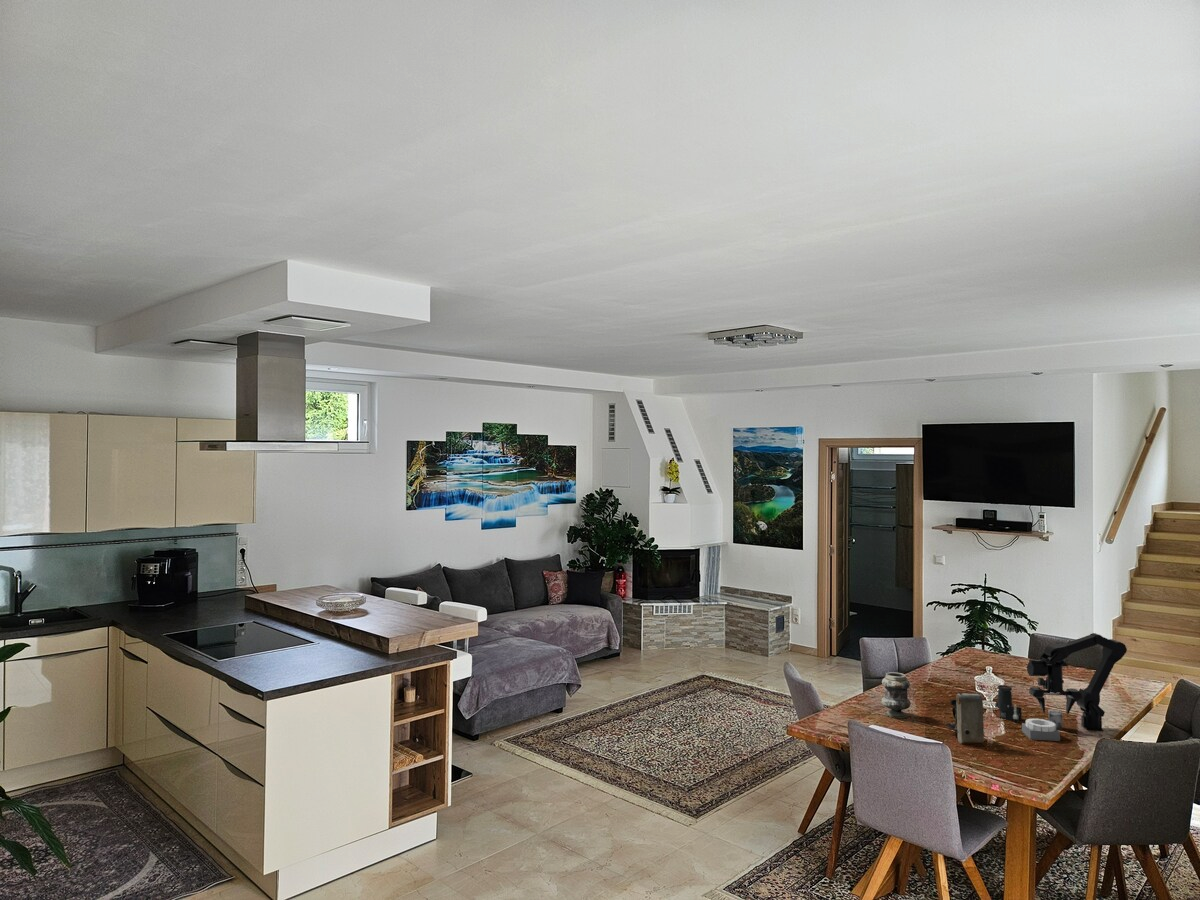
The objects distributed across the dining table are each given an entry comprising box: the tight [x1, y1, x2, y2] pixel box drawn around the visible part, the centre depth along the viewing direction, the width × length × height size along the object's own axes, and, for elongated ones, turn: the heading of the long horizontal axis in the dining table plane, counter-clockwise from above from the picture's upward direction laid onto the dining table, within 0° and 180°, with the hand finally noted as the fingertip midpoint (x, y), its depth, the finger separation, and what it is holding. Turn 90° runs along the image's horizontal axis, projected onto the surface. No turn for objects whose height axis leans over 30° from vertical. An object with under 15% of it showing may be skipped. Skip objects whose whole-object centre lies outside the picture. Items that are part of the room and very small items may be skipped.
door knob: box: [1047, 708, 1063, 731], centre depth 333 cm, size 5×5×7 cm
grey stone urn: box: [881, 671, 912, 719], centre depth 351 cm, size 12×12×18 cm
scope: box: [994, 684, 1023, 724], centre depth 345 cm, size 8×14×10 cm
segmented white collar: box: [1021, 718, 1061, 742], centre depth 323 cm, size 11×10×6 cm
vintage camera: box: [944, 692, 985, 745], centre depth 321 cm, size 10×15×20 cm, turn 2°
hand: (1055, 713), depth 333 cm, fingers open, 9 cm apart
